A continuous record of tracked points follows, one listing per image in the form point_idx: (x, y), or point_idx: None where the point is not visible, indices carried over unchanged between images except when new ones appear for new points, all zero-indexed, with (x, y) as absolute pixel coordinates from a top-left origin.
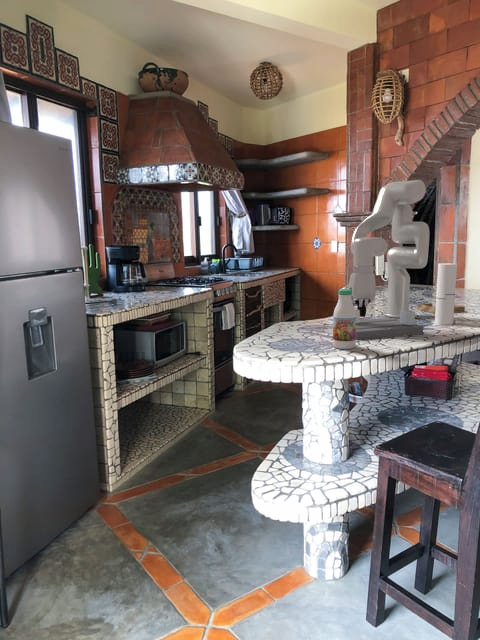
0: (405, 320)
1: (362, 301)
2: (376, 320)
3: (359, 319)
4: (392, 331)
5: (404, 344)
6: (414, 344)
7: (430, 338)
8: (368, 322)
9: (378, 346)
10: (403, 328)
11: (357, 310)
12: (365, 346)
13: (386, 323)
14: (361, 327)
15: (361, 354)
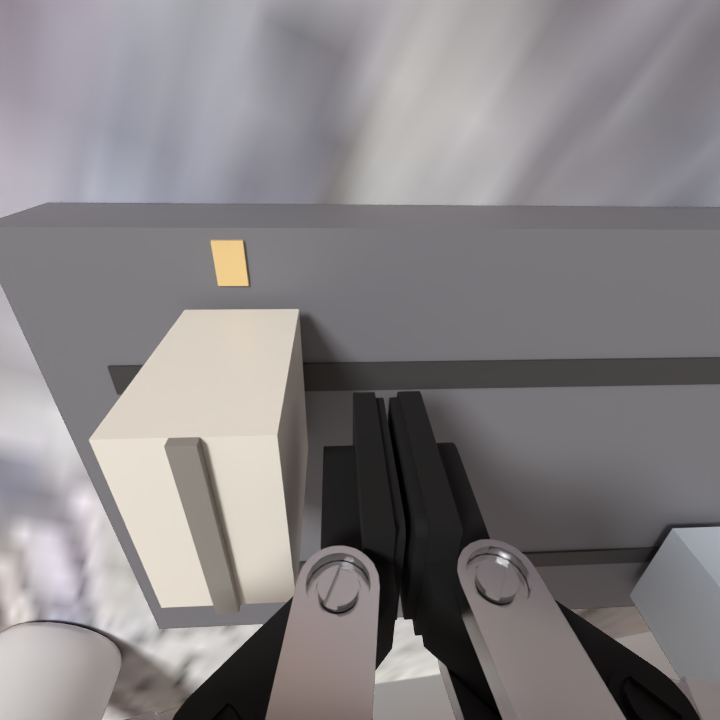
0: (662, 615)
1: (493, 682)
2: (647, 311)
3: (304, 480)
4: None
5: (391, 658)
6: (434, 663)
7: (603, 613)
8: (464, 386)
9: None
10: None
11: (262, 588)
12: (183, 656)
13: (589, 474)
14: None
15: (121, 716)
